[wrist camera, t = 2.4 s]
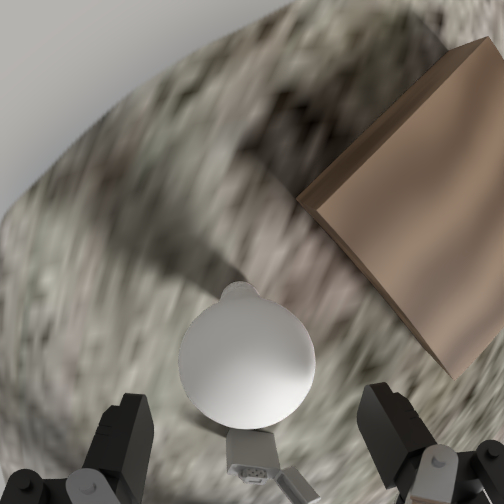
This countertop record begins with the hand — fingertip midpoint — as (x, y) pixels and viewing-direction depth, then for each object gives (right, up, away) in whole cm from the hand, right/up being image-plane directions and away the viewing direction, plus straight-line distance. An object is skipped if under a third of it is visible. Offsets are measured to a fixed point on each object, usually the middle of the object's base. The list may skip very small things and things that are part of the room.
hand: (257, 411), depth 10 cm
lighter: (+1, -11, +15) cm, 19 cm away
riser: (+15, +9, +10) cm, 21 cm away
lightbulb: (-1, +3, +11) cm, 12 cm away
